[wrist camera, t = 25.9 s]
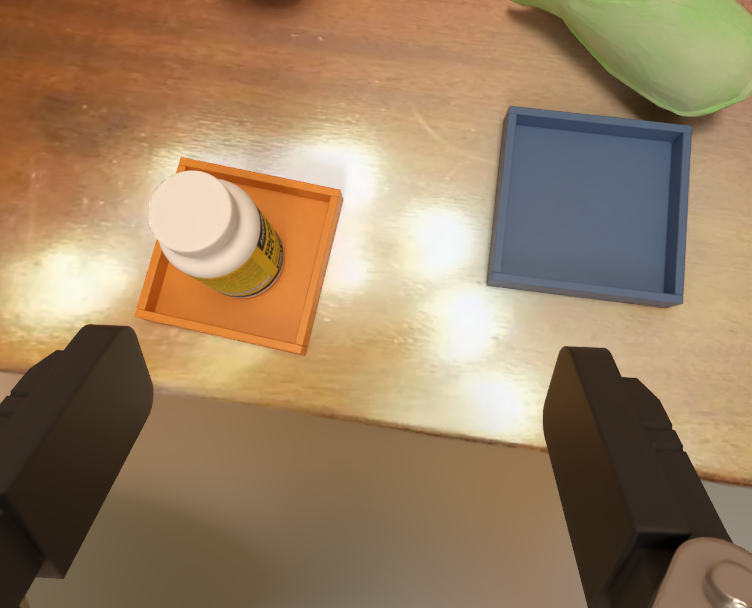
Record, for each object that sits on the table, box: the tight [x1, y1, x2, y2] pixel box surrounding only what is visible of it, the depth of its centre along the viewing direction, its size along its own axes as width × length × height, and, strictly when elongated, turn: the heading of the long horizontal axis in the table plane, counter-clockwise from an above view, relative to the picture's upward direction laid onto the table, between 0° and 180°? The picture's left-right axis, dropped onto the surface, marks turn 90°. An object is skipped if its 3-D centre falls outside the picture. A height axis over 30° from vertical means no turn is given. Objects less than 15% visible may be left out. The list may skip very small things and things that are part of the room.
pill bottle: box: [148, 170, 284, 298], centre depth 34 cm, size 6×6×11 cm
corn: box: [511, 0, 752, 117], centre depth 38 cm, size 8×8×20 cm
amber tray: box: [135, 157, 343, 355], centre depth 39 cm, size 12×12×2 cm
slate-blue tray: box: [487, 106, 692, 308], centre depth 39 cm, size 13×13×2 cm
